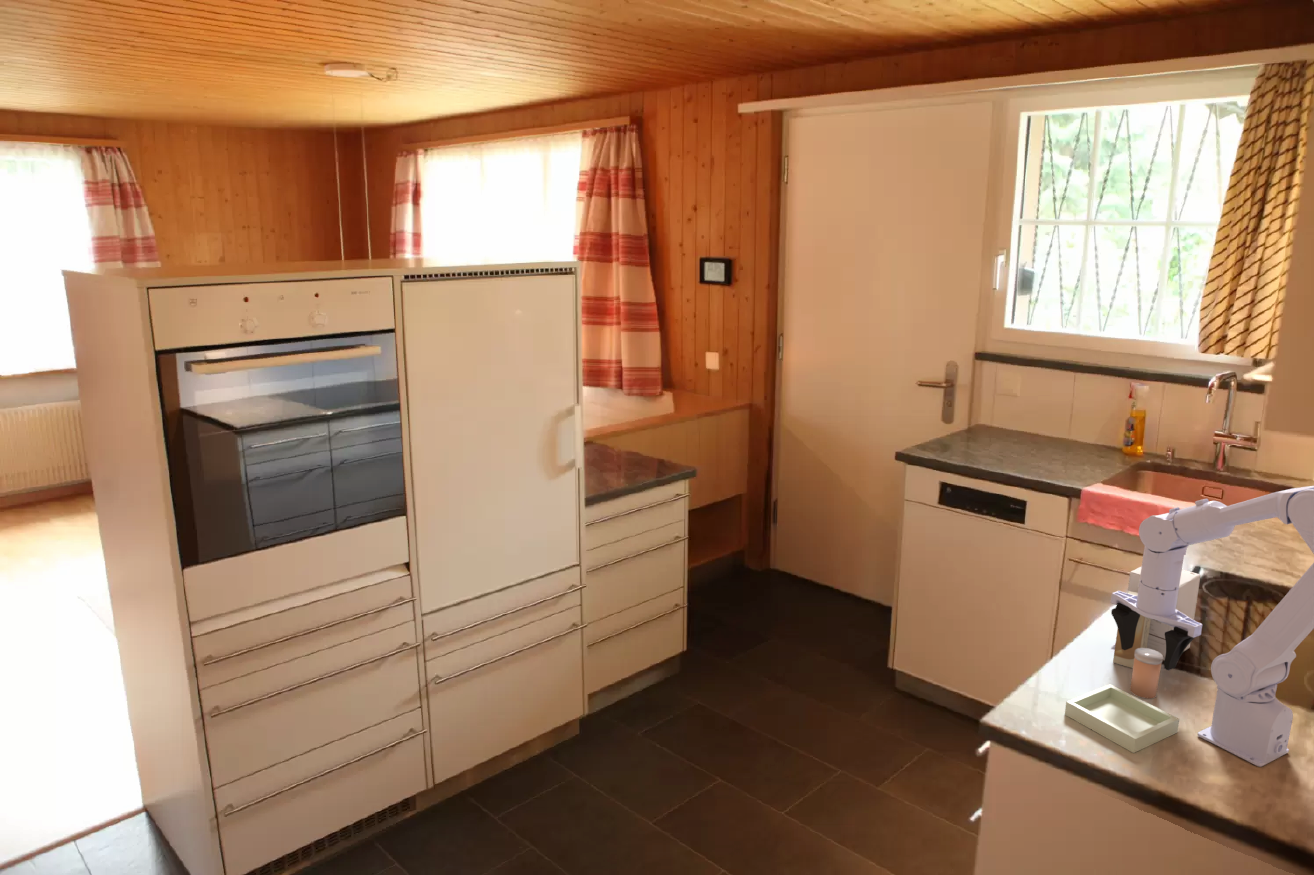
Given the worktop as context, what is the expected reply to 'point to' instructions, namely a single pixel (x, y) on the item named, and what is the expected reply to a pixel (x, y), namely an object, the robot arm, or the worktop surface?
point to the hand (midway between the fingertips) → (1147, 657)
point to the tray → (1122, 717)
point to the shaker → (1146, 672)
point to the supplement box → (1184, 605)
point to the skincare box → (1139, 642)
